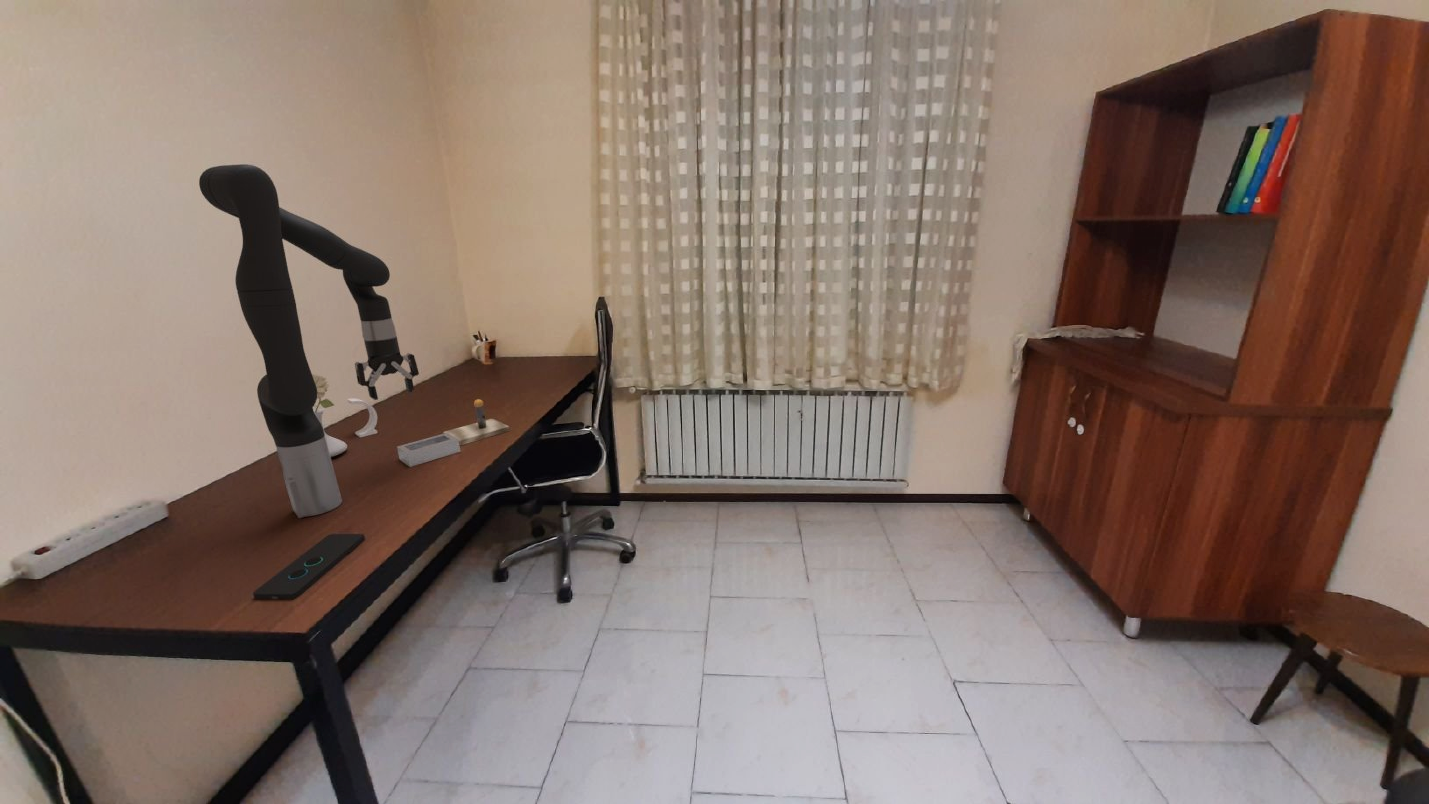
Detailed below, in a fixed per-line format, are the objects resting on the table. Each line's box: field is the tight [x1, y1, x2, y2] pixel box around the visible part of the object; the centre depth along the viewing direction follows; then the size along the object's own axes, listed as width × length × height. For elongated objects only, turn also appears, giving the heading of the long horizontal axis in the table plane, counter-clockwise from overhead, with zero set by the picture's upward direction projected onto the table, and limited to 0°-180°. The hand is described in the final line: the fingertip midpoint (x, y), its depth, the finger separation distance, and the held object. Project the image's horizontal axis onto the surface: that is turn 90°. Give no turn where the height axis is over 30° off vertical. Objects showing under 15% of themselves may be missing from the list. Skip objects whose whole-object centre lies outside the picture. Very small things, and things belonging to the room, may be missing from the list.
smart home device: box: [252, 533, 366, 600], centre depth 108 cm, size 8×2×20 cm
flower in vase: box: [312, 373, 348, 458], centre depth 158 cm, size 13×11×25 cm
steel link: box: [396, 433, 461, 468], centre depth 159 cm, size 14×8×4 cm, turn 137°
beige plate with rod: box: [442, 398, 511, 446], centre depth 175 cm, size 16×12×11 cm
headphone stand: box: [346, 398, 378, 438], centre depth 178 cm, size 5×6×12 cm
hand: (393, 395), depth 150 cm, fingers open, 8 cm apart
